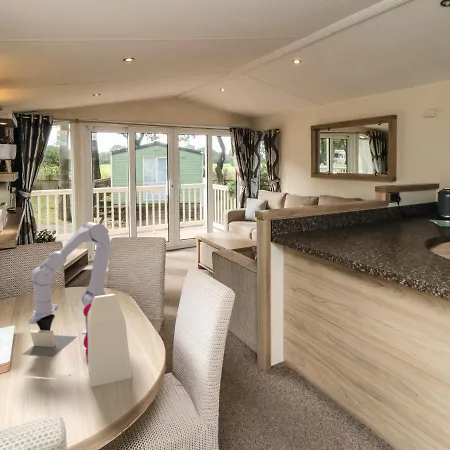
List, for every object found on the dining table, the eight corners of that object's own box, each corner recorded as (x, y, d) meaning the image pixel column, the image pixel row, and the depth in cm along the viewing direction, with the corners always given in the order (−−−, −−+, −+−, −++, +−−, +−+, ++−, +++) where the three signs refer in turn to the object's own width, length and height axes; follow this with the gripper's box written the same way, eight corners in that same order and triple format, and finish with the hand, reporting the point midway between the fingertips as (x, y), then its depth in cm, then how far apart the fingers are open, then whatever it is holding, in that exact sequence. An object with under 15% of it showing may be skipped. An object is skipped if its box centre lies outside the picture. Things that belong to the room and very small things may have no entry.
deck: (56, 343, 143) (53, 330, 141) (53, 346, 142) (50, 333, 139) (36, 342, 144) (33, 329, 142) (33, 345, 143) (30, 332, 140)
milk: (91, 386, 116) (85, 304, 113) (88, 368, 127) (83, 292, 123) (131, 377, 121) (127, 298, 117) (125, 361, 132) (121, 287, 128)
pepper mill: (83, 350, 139) (80, 297, 136) (104, 346, 142) (101, 294, 139) (85, 359, 133) (81, 304, 130) (106, 355, 136) (103, 301, 132)
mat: (77, 337, 150) (77, 336, 150) (53, 357, 134) (53, 356, 134) (48, 335, 152) (48, 334, 152) (22, 355, 136) (21, 354, 136)
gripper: (45, 293, 149) (47, 326, 151) (19, 306, 135) (23, 342, 137) (61, 293, 148) (64, 327, 150) (38, 307, 134) (41, 344, 136)
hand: (45, 334), depth 143 cm, fingers closed
